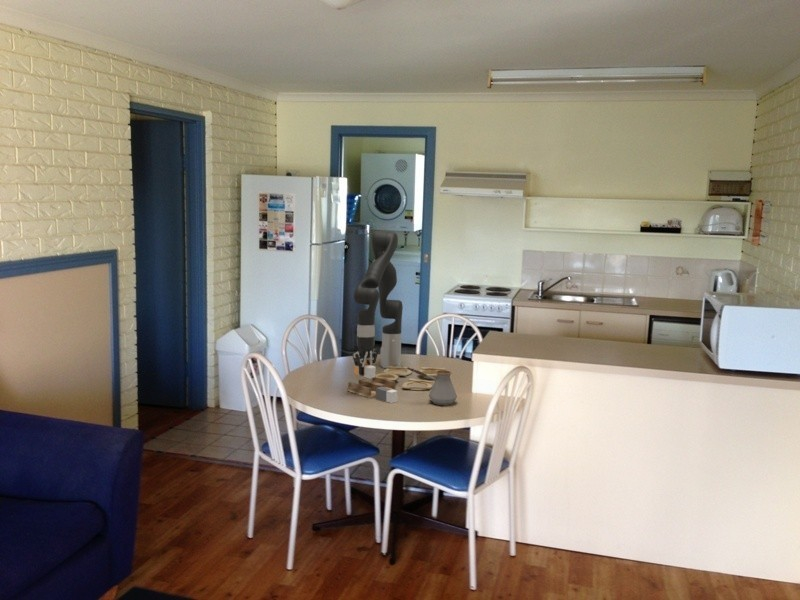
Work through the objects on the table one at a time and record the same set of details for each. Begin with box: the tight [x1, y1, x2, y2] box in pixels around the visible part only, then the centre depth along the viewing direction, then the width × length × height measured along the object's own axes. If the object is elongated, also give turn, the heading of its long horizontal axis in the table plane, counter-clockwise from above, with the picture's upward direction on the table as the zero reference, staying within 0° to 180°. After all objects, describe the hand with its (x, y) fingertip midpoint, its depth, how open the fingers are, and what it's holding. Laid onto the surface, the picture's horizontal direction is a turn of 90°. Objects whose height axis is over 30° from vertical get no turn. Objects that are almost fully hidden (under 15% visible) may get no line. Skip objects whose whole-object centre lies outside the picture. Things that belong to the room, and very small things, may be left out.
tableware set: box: [375, 366, 447, 391], centre depth 317 cm, size 35×29×4 cm
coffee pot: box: [406, 366, 458, 406], centre depth 282 cm, size 21×12×15 cm, turn 97°
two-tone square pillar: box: [375, 387, 399, 404], centre depth 285 cm, size 9×4×4 cm, turn 48°
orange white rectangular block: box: [353, 362, 377, 380], centre depth 293 cm, size 9×4×4 cm, turn 48°
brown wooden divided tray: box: [346, 377, 397, 399], centre depth 297 cm, size 14×16×4 cm
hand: (365, 374), depth 293 cm, fingers closed on orange white rectangular block, 3 cm apart
